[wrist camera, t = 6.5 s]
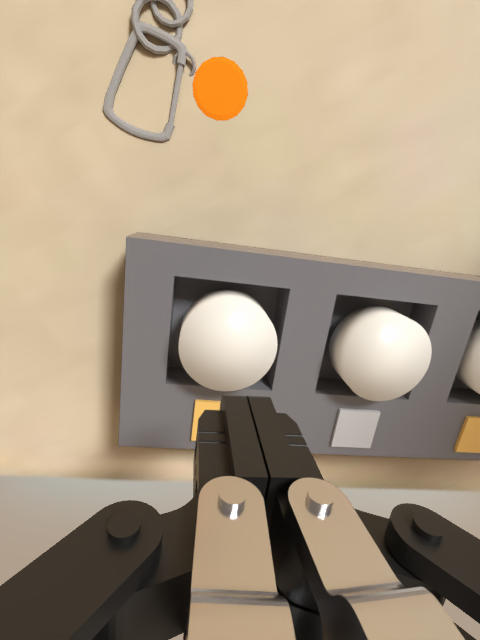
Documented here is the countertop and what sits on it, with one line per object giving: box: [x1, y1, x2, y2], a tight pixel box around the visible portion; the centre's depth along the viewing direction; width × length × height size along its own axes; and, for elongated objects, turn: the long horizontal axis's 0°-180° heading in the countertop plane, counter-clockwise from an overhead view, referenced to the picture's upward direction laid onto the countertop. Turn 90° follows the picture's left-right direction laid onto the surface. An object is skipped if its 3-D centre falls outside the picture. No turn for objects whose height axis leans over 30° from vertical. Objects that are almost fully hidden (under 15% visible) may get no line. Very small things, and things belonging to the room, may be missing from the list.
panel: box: [119, 232, 480, 460], centre depth 20 cm, size 26×11×3 cm, turn 82°
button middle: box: [329, 305, 432, 401], centre depth 18 cm, size 5×5×2 cm
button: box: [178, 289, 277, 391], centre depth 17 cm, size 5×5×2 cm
